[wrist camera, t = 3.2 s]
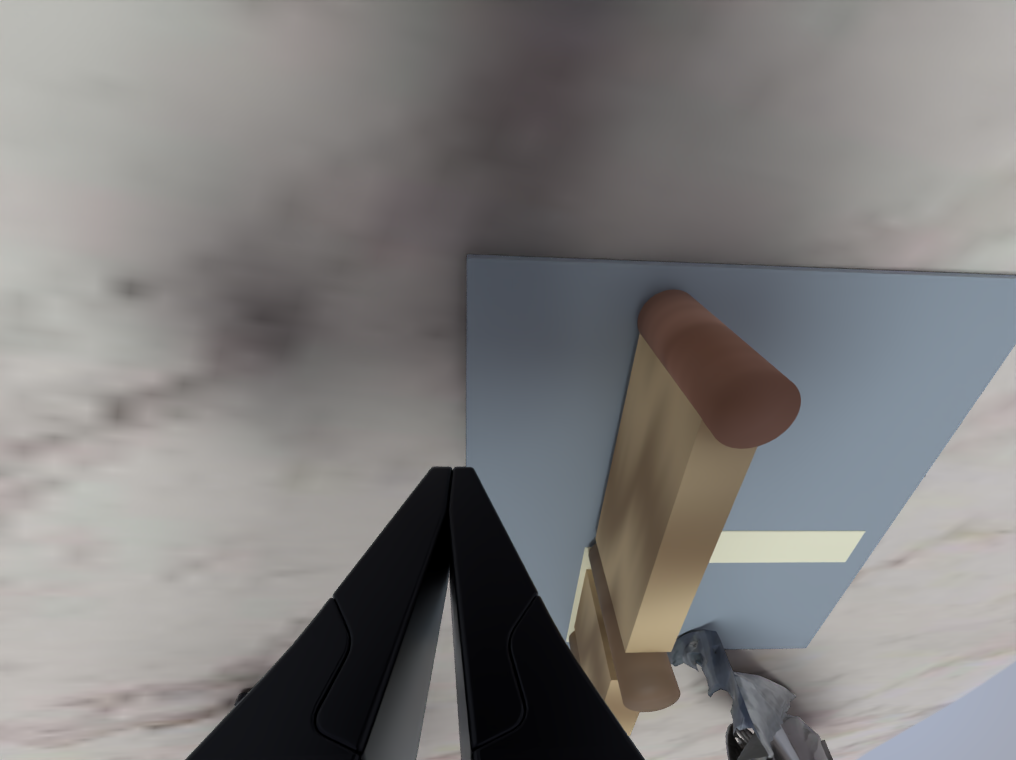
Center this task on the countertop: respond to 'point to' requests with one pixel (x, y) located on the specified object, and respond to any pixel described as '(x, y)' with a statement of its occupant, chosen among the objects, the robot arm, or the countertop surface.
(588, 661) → the fixed fence rail
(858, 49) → the countertop surface
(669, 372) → the rail
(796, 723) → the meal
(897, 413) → the board
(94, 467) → the countertop surface
